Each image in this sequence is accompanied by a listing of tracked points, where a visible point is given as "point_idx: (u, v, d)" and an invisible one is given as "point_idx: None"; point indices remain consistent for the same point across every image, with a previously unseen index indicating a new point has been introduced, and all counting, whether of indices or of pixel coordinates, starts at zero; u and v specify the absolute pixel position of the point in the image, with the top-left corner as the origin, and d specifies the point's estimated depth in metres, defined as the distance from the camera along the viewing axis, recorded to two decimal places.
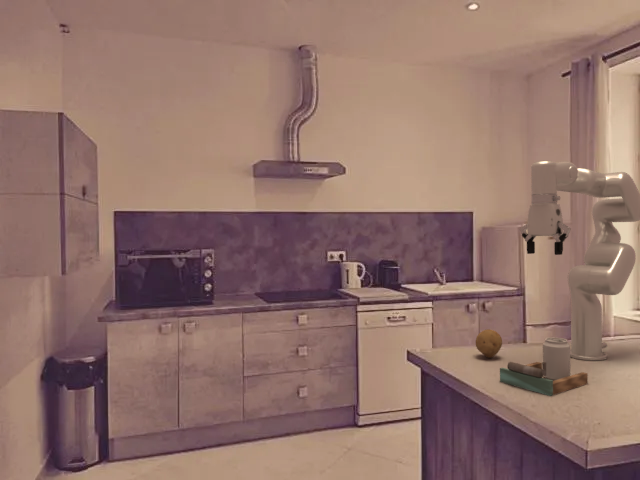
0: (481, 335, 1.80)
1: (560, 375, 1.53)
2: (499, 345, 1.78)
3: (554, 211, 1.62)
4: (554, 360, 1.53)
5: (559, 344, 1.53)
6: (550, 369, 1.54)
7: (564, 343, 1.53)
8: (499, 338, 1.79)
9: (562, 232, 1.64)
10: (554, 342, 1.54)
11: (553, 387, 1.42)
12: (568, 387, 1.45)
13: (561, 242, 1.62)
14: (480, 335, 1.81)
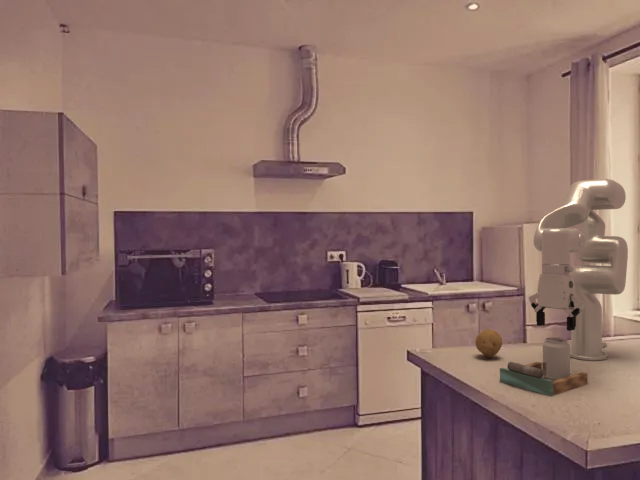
0: (481, 335, 1.80)
1: (560, 375, 1.53)
2: (499, 345, 1.78)
3: (567, 283, 1.51)
4: (554, 360, 1.53)
5: (559, 344, 1.53)
6: (550, 369, 1.54)
7: (564, 343, 1.53)
8: (499, 338, 1.79)
9: (575, 305, 1.52)
10: (554, 342, 1.53)
11: (553, 387, 1.42)
12: (568, 387, 1.45)
13: (574, 317, 1.51)
14: (480, 335, 1.81)
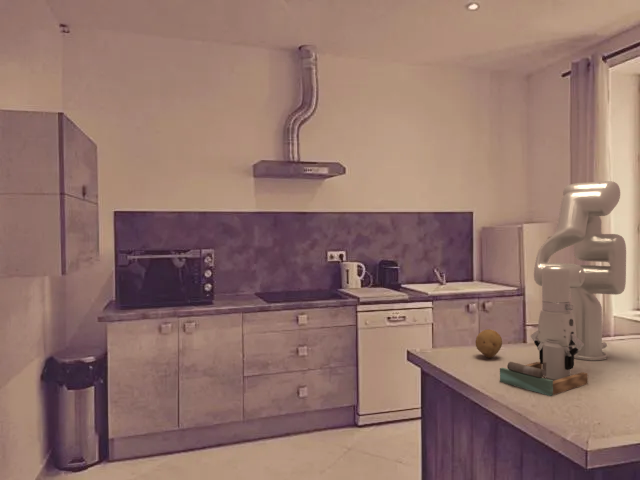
0: (481, 335, 1.80)
1: (560, 375, 1.52)
2: (499, 345, 1.78)
3: (567, 322, 1.51)
4: (554, 360, 1.53)
5: None
6: (550, 369, 1.54)
7: None
8: (499, 338, 1.79)
9: None
10: (554, 342, 1.53)
11: (553, 387, 1.42)
12: (568, 387, 1.45)
13: (572, 356, 1.52)
14: (480, 335, 1.81)
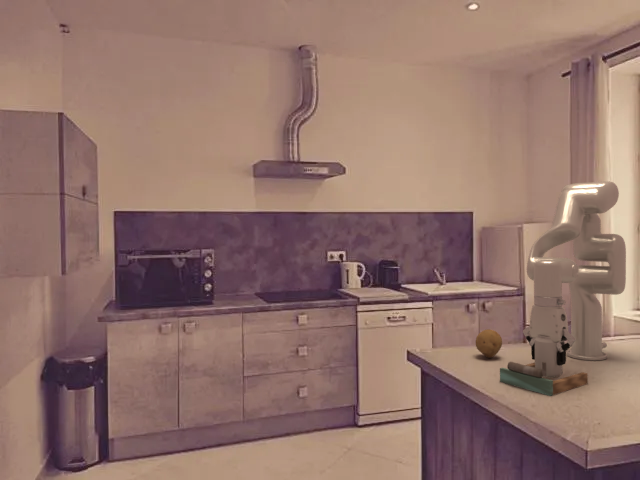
0: (481, 335, 1.80)
1: (552, 370, 1.50)
2: (499, 345, 1.78)
3: (559, 317, 1.49)
4: (545, 356, 1.51)
5: None
6: None
7: None
8: (499, 338, 1.79)
9: (568, 338, 1.51)
10: (546, 337, 1.51)
11: (553, 387, 1.42)
12: (568, 387, 1.45)
13: (564, 352, 1.50)
14: (480, 335, 1.81)
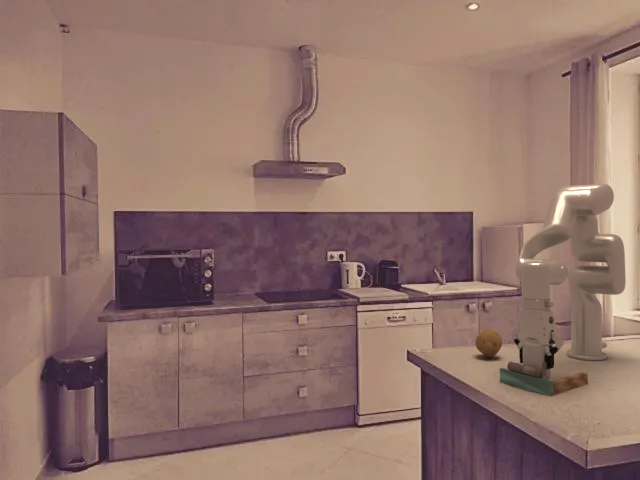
0: (481, 335, 1.80)
1: None
2: (499, 345, 1.78)
3: (547, 319, 1.46)
4: (533, 360, 1.48)
5: None
6: None
7: None
8: (499, 338, 1.79)
9: None
10: (534, 340, 1.48)
11: (553, 387, 1.42)
12: (568, 387, 1.45)
13: (552, 355, 1.47)
14: (480, 335, 1.81)
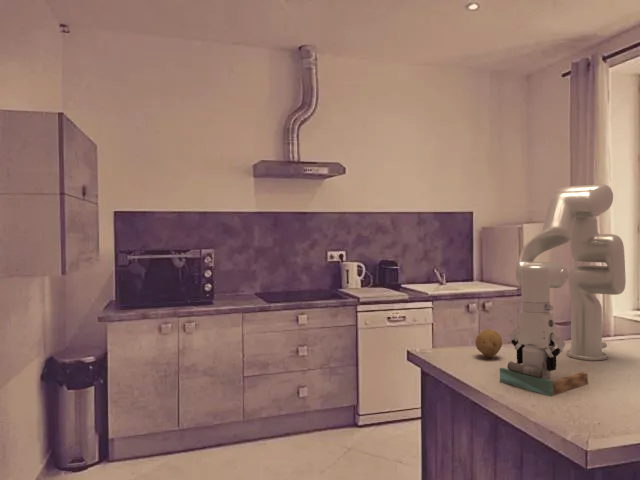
0: (481, 335, 1.80)
1: None
2: (499, 345, 1.78)
3: (546, 322, 1.46)
4: (533, 366, 1.48)
5: (539, 349, 1.48)
6: None
7: None
8: (499, 338, 1.79)
9: (555, 344, 1.47)
10: (534, 347, 1.48)
11: (553, 387, 1.42)
12: (568, 387, 1.45)
13: (554, 357, 1.46)
14: (480, 335, 1.81)
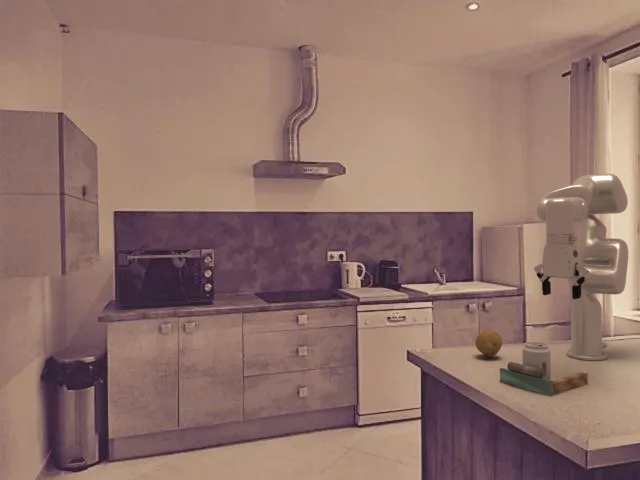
0: (481, 335, 1.80)
1: None
2: (499, 345, 1.78)
3: (571, 253, 1.52)
4: (533, 366, 1.48)
5: (539, 349, 1.48)
6: None
7: (544, 348, 1.48)
8: (499, 338, 1.79)
9: (580, 274, 1.54)
10: (534, 347, 1.48)
11: (553, 387, 1.42)
12: (568, 387, 1.45)
13: (579, 285, 1.52)
14: (480, 335, 1.81)
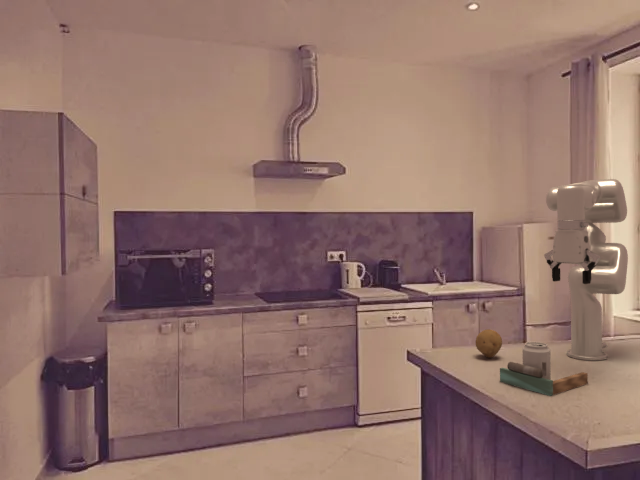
0: (481, 335, 1.80)
1: None
2: (499, 345, 1.78)
3: (582, 238, 1.55)
4: (533, 366, 1.48)
5: (539, 349, 1.48)
6: None
7: (544, 348, 1.48)
8: (499, 338, 1.79)
9: (590, 260, 1.57)
10: (534, 347, 1.48)
11: (553, 387, 1.42)
12: (568, 387, 1.45)
13: (589, 271, 1.55)
14: (480, 335, 1.81)
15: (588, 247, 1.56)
